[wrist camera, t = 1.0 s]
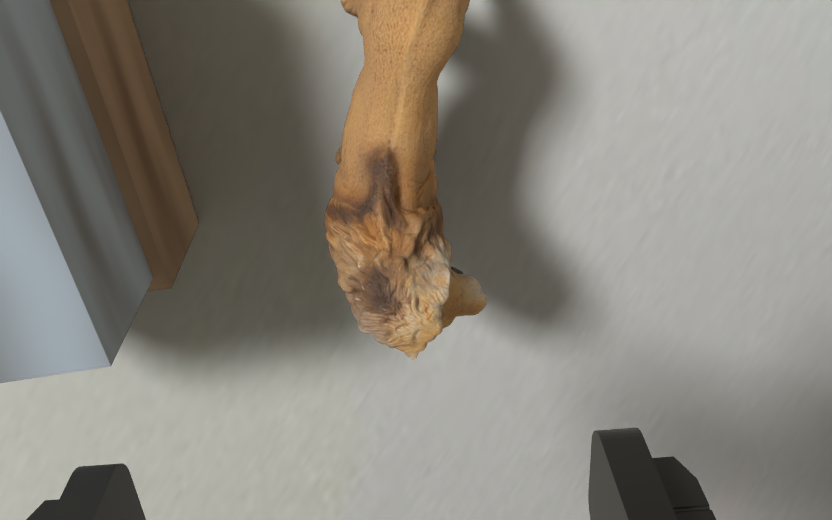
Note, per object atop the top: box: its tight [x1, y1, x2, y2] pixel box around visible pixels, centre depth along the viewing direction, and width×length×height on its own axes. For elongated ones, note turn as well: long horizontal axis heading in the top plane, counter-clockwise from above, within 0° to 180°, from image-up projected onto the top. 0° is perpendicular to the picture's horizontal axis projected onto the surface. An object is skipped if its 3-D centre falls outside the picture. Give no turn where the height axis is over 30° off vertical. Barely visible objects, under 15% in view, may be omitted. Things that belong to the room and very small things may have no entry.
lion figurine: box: [325, 0, 486, 359], centre depth 25 cm, size 15×5×9 cm, turn 1°
